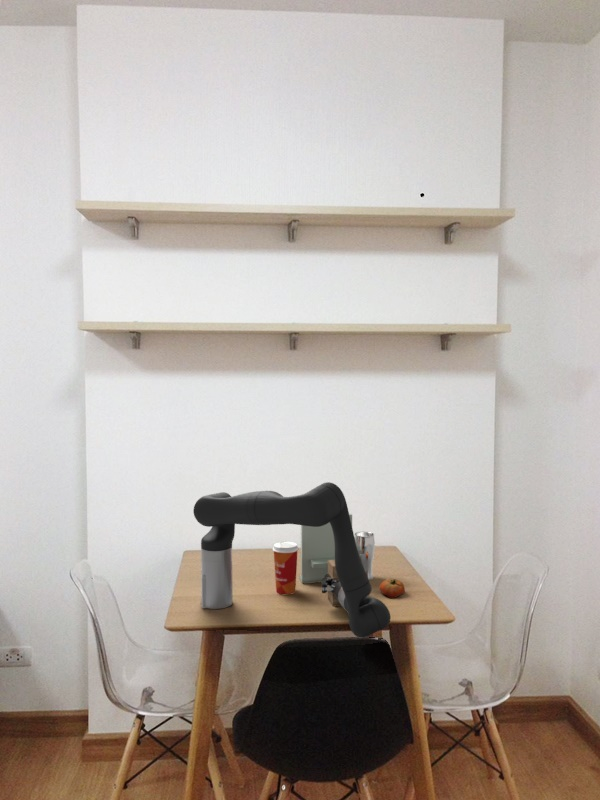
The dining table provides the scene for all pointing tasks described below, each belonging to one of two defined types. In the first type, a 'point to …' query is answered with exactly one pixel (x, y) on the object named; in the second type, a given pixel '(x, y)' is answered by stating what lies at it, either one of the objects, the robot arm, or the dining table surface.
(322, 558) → the wall board
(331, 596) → the cabinet
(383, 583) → the tomato
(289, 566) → the coffee cup
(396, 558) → the dining table surface
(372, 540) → the beer glass
